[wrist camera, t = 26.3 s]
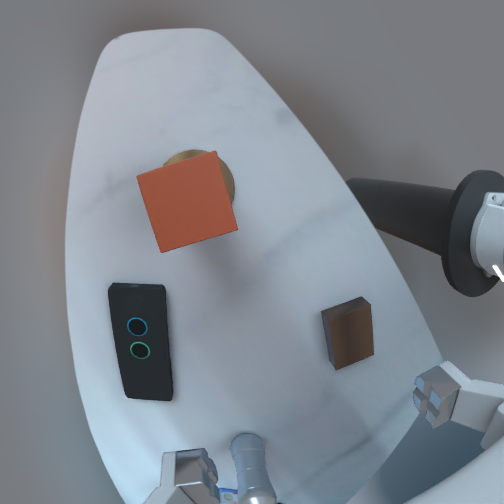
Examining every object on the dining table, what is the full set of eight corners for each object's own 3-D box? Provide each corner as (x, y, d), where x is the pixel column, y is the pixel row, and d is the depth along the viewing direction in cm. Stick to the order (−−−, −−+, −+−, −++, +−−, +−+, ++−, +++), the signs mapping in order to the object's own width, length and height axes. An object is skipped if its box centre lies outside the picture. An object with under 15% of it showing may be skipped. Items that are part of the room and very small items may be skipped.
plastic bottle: (240, 452, 51) (255, 533, 32) (222, 437, 49) (233, 525, 30) (268, 441, 51) (290, 523, 32) (251, 425, 49) (271, 514, 30)
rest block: (361, 296, 45) (370, 303, 42) (366, 345, 48) (374, 354, 45) (321, 311, 44) (328, 320, 41) (329, 360, 47) (335, 370, 44)
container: (227, 208, 38) (213, 157, 36) (238, 230, 24) (216, 150, 22) (177, 223, 37) (162, 173, 35) (160, 253, 24) (136, 175, 22)
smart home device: (165, 289, 38) (173, 402, 43) (166, 284, 40) (174, 395, 45) (105, 286, 37) (124, 398, 42) (109, 282, 38) (126, 391, 43)
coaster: (222, 140, 36) (222, 140, 35) (243, 215, 39) (243, 216, 38) (146, 164, 35) (145, 163, 35) (168, 238, 38) (168, 238, 38)
